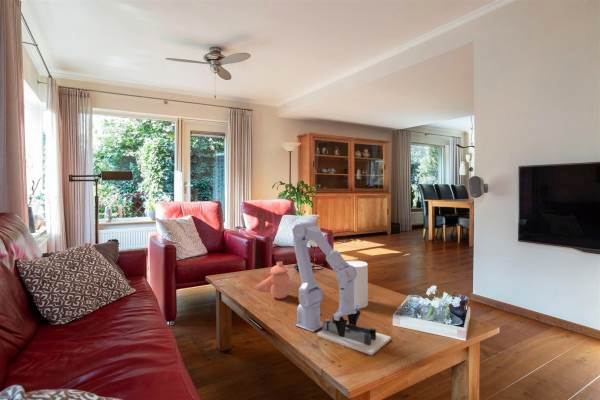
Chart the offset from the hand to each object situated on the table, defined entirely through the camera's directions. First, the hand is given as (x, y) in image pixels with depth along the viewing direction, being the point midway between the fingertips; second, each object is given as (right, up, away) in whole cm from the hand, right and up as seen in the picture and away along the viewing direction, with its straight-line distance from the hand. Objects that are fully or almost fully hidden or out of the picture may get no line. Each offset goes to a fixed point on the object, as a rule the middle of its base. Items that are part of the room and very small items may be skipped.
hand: (347, 332), depth 128 cm
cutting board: (+2, -2, +1) cm, 3 cm away
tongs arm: (+3, -1, +1) cm, 3 cm away
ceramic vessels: (-32, 0, +61) cm, 69 cm away
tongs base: (0, -1, 0) cm, 1 cm away
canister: (+9, -1, +37) cm, 38 cm away
